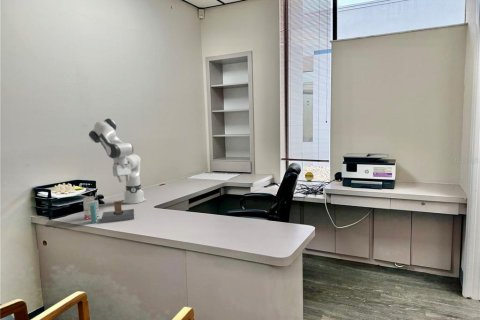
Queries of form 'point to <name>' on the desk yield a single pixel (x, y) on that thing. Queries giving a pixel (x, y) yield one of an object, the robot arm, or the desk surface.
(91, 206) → the teal flat bit
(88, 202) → the ink cartridge box
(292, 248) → the desk surface
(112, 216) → the metal bore block
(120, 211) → the walnut square bit
